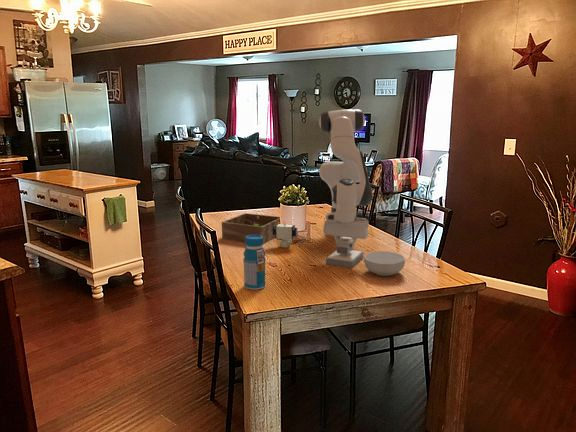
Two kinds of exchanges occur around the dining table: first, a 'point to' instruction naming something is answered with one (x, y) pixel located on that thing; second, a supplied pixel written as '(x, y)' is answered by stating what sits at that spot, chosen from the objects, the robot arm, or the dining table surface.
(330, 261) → the plinth
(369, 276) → the dining table surface
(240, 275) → the dining table surface
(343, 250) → the block
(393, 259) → the cereal bowl
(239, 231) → the planter crate
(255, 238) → the beverage bottle
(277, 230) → the pneumatic valve
